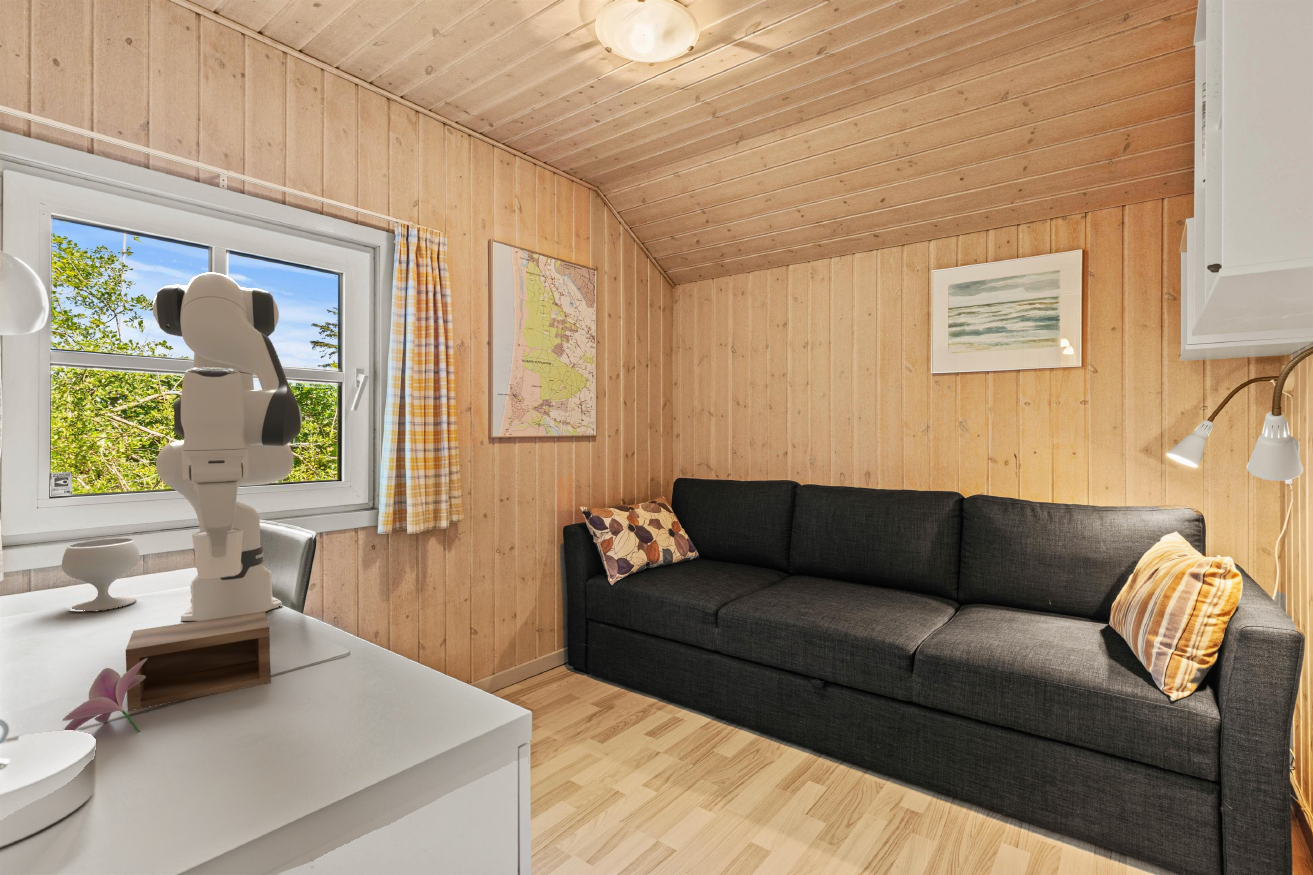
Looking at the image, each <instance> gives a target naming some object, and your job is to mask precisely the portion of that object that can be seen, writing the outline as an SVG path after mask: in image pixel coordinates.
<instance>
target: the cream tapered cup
mask: <svg viewBox="0 0 1313 875" xmlns="http://www.w3.org/2000/svg"><path fill="white" fill-rule="evenodd" d="M242 540H243V530H242V529H234V528H233V529H232V530H231V531H226V554H225V556H223V557H213V556H212V545H211V538H210V533H206V532H205V531H201V532H200V531H198V532H193V533H192V544H193V550H194V556H195V557H194V558H195V564H196V571H197V575H198V577H199V578H204V579H208V578H221V577H228V576H232V575H236V574H238V573H240V566H241V553H242Z"/></svg>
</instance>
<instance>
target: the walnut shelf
mask: <svg viewBox="0 0 1313 875" xmlns="http://www.w3.org/2000/svg"><path fill="white" fill-rule="evenodd" d="M268 621H269V620H268V617H267V614H266V612H265V611H263V612H257V613H250V614H243V615H236V616H230V617H223V618H216V619H209V620H203V621H189V622H183V623H177V624H176V623H175V624H170V625H163V626H157V627H156V626H155V627H151V628H149V627H148V628H143V629H136V630H135V629H134V630H133V631H132V633H131V636H130V638H129V641H128V643H127V646H126V649H125V667H126V668H125V670H126V672H127V671H129V670H130V669H131V668H132V667H134V666H135V665H136V664H138V663H139V662H141V661H142V660H144V659H146V658H147V660H146V661H145V662H144V664H143V665H142V666H141V668H140V669H139V670H138V672H137V673H136V674H135V675H144V676H146V678H145V679H144V680H143V681H141V682H140V683H138V684H137V685H135V686H134V687H132V688H131V689H129V690H128V691H126V701H127V704H126V705H127V712H130V710H132V711H135V710H134V709H137V710H139V709H140V708H142V709H146V708H145V707H147V708H150V707H149V706H152V707H156V706H155V705H157V706H161V705H160V704H162V705H166V704H165V703H167V704H170V703H169V702H172V703H175V702H174V701H177V702H180V700H182V701H185V700H191V699H195V698H201V697H206V696H210V695H217V694H221V693H226V692H230V691H235V690H240V689H241V690H242V689H245V688H251V687H256V686H260V685H265V684H271V683H272V679H271V678H272V677H271V675H272V674H271V673H272V672H271V671H272V670H271V643H270V641H271V639H270V638H271V637H270V635H271V634H270V625H269V624H270V623H269V622H268ZM126 672H125V673H126ZM140 710H141V709H140Z"/></svg>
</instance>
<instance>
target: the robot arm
mask: <svg viewBox="0 0 1313 875" xmlns="http://www.w3.org/2000/svg"><path fill="white" fill-rule="evenodd" d="M152 311H153V312H152V313H153V316H154V319H155V321H156V322H157V324H158V326H159V328H160V329H161V331H163V332H164V333H165V334H167V335H170V336H171V335H172V336H176V337H181V338H182V339H183V341H184V343H185V345H186V346H187V347H188V348H189V349H190V350H191V351H192V352H193V367H191V368H189V369H187V370H186V371H185V372H184V375H183V381H182V387H181V397H179V398H178V399H176V400H175V401H174V402H173V403H172V405H173V419H174V420H173V422H174V423H173V424H174V425H173V426H174V429H173V432H174V434H176V435H177V436H179V437H180V438H182V440H177V441H173V442H168V443H167V444H165V446H163V447H162V449H161V450H160V451H159V452H158V455H157V458H156V461H155V467H156V468H155V469H156V473H157V475H158V476H159V479H160V480H161V481H162V482H163V483H164V484H165V485H166V486H167V487H169V488H171V489H172V490H175V492H178V493H179V494H180V495H182V496H183V497H184V498H185V499H186V500H187V501H188V503H190V505H191V506H192V508H193V509H194V511H195V513H196V516H197V519H198V526H199V532H201V531H205V532H206V533H210V538H211V545H212V556H213V557H223V556H225V554H226V531H231V530H232V529H233V528H234V529H242V530H243V540H242V553H241V566H240V573H238V574H236V575H232V576H228V577H221V578H208V579H204V578H199V577H198V574H197V575H196V576H195V577H194V578H193V579H192V580H191V584H190V586H189V587H190V594H191V598H190V604H191V606H190V607H189V608H188V609H187V610H186V611H184V612H183V613H182V614H181V616H180V621H185V622H186V621H187V622H188V621H189V622H196V621H203V620H209V619H216V618H223V617H230V616H236V615H243V614H250V613H257V612H263V611H265V613H266V612H267V611H270V610H273V609H277V608H280V607H282V606H283V602H282V601H281V600H280V599H279V598H276V597H275V596H273V586H272V585H273V582H272V572H271V571H270V570H269V569H268V568H266V567H265V566H264V564H263V562H264V555H265V554H264V551H263V546H261V525H260V524H261V522H260V520H261V519H260V515H259V513H258V511H257V510H256V509H255V508H254V507H252V506H250V505H248V504H245V503H242V502H240V501H237V497H238V488H240V487H250V486H264V485H268V484H272V483H276V482H279V481H282V480H285V479H286V478H287V477H288V476H289V475H290V473H291V471H292V470H293V468H294V460H295V459H294V453H293V451H292V448H291V447H290V446H289V443H290V442H292V441H293V440H294V439H296V438H297V437H298V436H299V435H300V434H301V430H302V427H303V426H302V424H303V415H302V409H301V406H300V404H299V403H298V400H297V397H296V396H295V394H294V393H293V391H292V389H291V386H290V384H289V381H288V379H287V377H286V374H285V371H284V368H283V366H282V363H281V361H280V358H279V355H278V353H277V350H276V348H275V347H274V344H273V343H272V340H271V339H270V338H269V337H270V336H271V335H272V334H273V333H274V332H275V330H276V327H277V326H278V322H279V317H280V316H279V315H280V314H279V313H280V312H279V308H278V304H277V303H276V301H275V299H274V296H273V295H272V294H271V293H270V292H269V291H267V290H265V289H260V288H255V287H252V288H246V287H240V285H239V284H238V283H237V282H236V281H235V280H233V279H232V278H231V277H229V276H228V275H224V274H223V273H218V272H205V273H201V274H199V275H196V276H194V277H193V278H192V279H191V280H190V281H189V283H188V285H180V284H173V285H172V284H171V285H166V286H163V287H161V288H160V289H159V290H157V291H156V296H155V298H154V299H153V302H152ZM254 375H255V376H256V377H257V379H258V381H259V384H260V387H261V389H258V390H255V387H254V386H255V385H254ZM279 606H280V607H279Z"/></svg>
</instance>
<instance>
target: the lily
mask: <svg viewBox="0 0 1313 875" xmlns="http://www.w3.org/2000/svg"><path fill="white" fill-rule="evenodd" d="M146 660H147V658H146V659H144V660H142V661H141V662H139V663H138V664H136V665H135V666H134V667H132V668H131V669H130V670H129V671H127V672H125V673H124V674H123V675H121V674H119V672H117V671H116V670H114V669H113V668H110V667H105V668H103V669H102V670H101V671H100V673H99V674H98V675H97V676H96V678H95V679H94V681H93V683H92V684H91V687H90V689H89V692H88V700H87V701H85V702H83V703H82V704H80V705H79V706H77V707H76V708H74V709H72V711H70V712H69V713H68V714H67V715H65V717H63V718H62V721H63V722H64V721H69V722H68V724H67V725H66V726H65V727H64V728H63V730H74V731H75V730H77V729H78V728H79V727H81V726H82V725H84V724H85V723H87V722H88V721H90V720H92V719H94V721H95V722H97V723H101V724H106V723H107V722H108V721H109V719H110V717H111V715H112V714H113V713H115V712H120V713H121V714H122V715H124V716H125V718H126V719H127V720H128V721H129V723H130V724H131V725H132V728H134V730H135V731H136V732H137V734H139V733H141V731H140V729H139V728H138V726H137V725H136V723H135V722H134V721H133V719H132V718H131V716H129V715H128V714H127V712H126V711H125V710H124V709H123V705H124V700H125V697H126V695H127V691H128V690H129V689H131V688H132V687H134V686H135V685H137V684H138V683H140V682H141V681H143V680H144V679H145V678H146V676H144V675H135V674H136V673H137V672H138V670H139V669H140V668H141V666H142V665H143V664H144V662H145V661H146ZM70 720H71V721H70ZM105 722H106V723H105Z"/></svg>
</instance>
